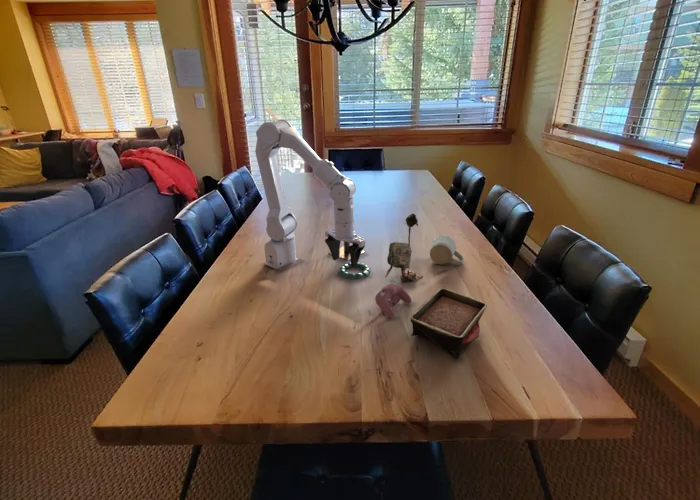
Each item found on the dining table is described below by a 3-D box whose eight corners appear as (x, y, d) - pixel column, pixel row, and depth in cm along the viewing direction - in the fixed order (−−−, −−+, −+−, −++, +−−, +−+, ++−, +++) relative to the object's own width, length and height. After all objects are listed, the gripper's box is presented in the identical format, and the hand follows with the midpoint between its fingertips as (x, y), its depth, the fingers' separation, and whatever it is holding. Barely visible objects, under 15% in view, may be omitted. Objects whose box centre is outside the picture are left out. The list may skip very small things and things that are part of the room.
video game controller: (400, 303, 101) (391, 279, 100) (414, 302, 98) (404, 277, 97) (379, 320, 94) (369, 294, 93) (393, 318, 91) (383, 292, 90)
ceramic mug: (428, 264, 119) (430, 242, 116) (431, 254, 126) (433, 233, 123) (462, 269, 116) (465, 246, 113) (463, 258, 123) (466, 237, 120)
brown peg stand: (348, 263, 121) (347, 245, 119) (328, 256, 127) (327, 239, 124) (365, 254, 127) (365, 237, 125) (345, 248, 133) (345, 231, 130)
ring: (356, 284, 108) (356, 278, 107) (332, 275, 114) (332, 269, 113) (376, 273, 115) (376, 267, 114) (352, 264, 120) (352, 258, 120)
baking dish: (490, 339, 87) (495, 299, 84) (455, 370, 74) (460, 323, 71) (434, 321, 96) (438, 284, 94) (395, 345, 83) (397, 303, 80)
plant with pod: (383, 274, 114) (384, 211, 106) (420, 274, 114) (424, 211, 106) (385, 287, 106) (387, 221, 98) (425, 287, 106) (430, 220, 98)
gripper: (371, 222, 108) (371, 264, 114) (335, 212, 117) (336, 252, 123) (356, 228, 103) (356, 272, 109) (319, 218, 112) (321, 259, 118)
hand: (345, 262), depth 115 cm, fingers open, 7 cm apart
